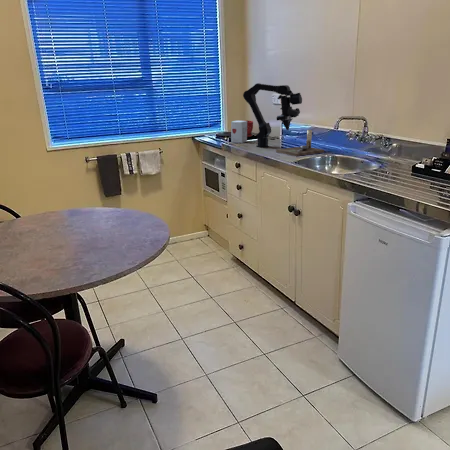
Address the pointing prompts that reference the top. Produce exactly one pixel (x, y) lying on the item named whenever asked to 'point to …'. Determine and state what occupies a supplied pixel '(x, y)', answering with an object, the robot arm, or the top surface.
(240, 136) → the supplement box
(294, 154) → the brown flat board
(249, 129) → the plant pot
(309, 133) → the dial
